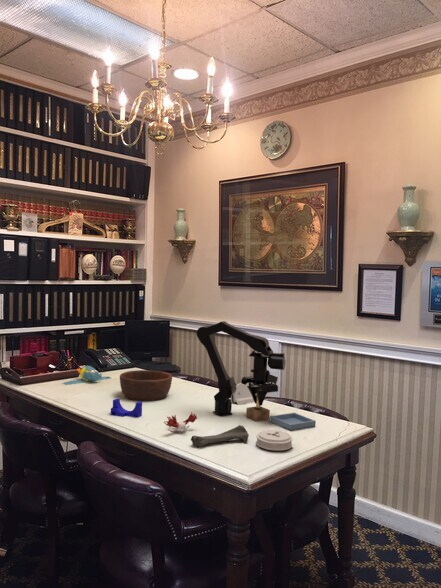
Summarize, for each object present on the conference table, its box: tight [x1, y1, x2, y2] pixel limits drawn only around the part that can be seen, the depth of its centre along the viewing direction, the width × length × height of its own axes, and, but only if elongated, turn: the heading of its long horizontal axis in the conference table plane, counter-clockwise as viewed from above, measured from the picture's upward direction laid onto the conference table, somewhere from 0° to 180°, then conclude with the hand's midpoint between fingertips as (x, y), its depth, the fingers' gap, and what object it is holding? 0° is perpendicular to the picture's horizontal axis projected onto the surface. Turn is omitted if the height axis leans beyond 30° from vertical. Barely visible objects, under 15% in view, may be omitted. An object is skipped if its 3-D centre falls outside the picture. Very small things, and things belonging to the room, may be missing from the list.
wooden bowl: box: [119, 369, 173, 402], centre depth 239 cm, size 25×25×10 cm
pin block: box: [245, 406, 271, 423], centre depth 209 cm, size 7×7×4 cm
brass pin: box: [255, 392, 262, 410], centre depth 209 cm, size 3×3×10 cm
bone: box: [190, 424, 249, 448], centre depth 176 cm, size 22×6×6 cm, turn 117°
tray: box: [269, 412, 317, 432], centre depth 202 cm, size 13×13×2 cm
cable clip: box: [110, 398, 143, 418], centre depth 205 cm, size 12×4×6 cm, turn 73°
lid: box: [255, 429, 293, 451], centre depth 175 cm, size 13×13×5 cm
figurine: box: [163, 411, 198, 433], centre depth 188 cm, size 15×12×7 cm
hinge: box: [230, 382, 255, 406], centre depth 237 cm, size 17×5×10 cm, turn 128°
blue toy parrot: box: [62, 365, 112, 386], centre depth 265 cm, size 28×9×15 cm
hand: (258, 404), depth 209 cm, fingers closed on brass pin, 3 cm apart
